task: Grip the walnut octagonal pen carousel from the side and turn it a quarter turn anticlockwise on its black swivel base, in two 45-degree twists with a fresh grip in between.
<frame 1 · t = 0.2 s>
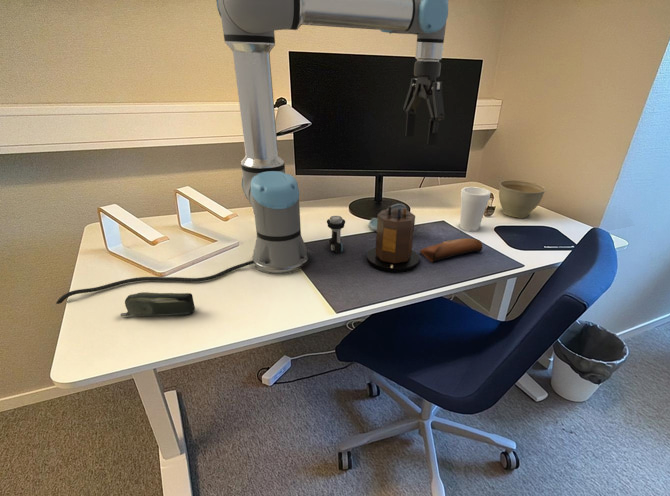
hand: (419, 140, 123), 28 cm above the table, tool pointing down, fingers open, 13 cm apart
pen carousel: (395, 231, 109), point 9 cm above the table, hinge at 0.0°
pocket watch: (383, 228, 134), on the table
foam cup: (469, 228, 138), on the table
sunglasses case: (449, 253, 120), on the table
planter bowl: (515, 214, 152), on the table
dark green rounded block: (159, 314, 87), on the table
swivel base: (392, 260, 114), on the table
push button: (335, 249, 119), on the table
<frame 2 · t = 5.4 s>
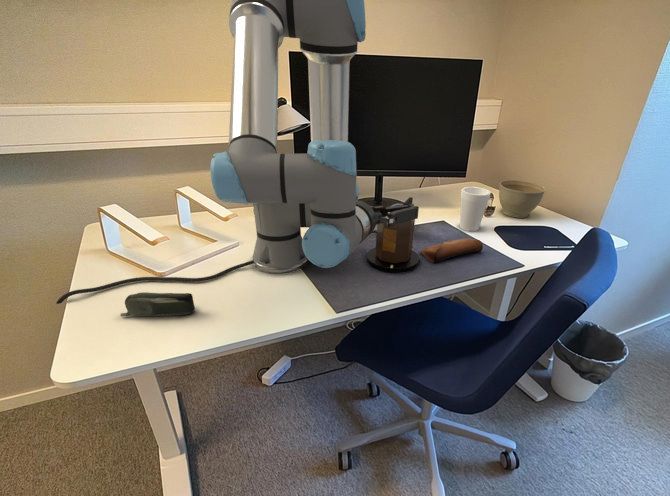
hand: (382, 200, 94), 21 cm above the table, tool horizontal, fingers open, 13 cm apart
nothing on the table moved.
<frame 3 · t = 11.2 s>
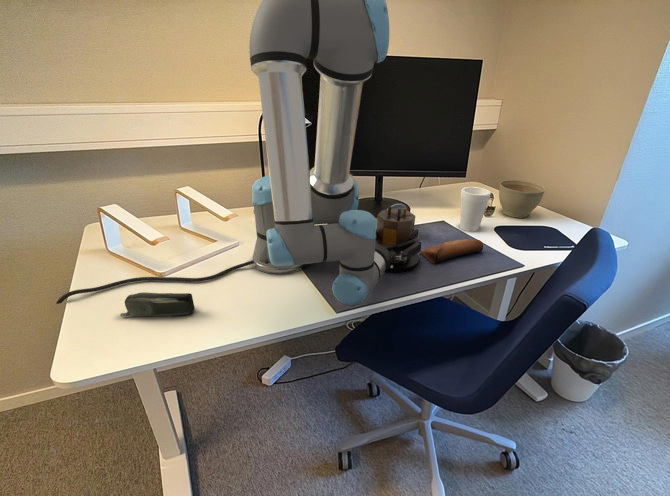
hand: (399, 231, 113), 8 cm above the table, tool horizontal, fingers closed on pen carousel, 9 cm apart
pen carousel: (395, 231, 109), point 9 cm above the table, hinge at 0.0°, touching gripper
everything else where it was.
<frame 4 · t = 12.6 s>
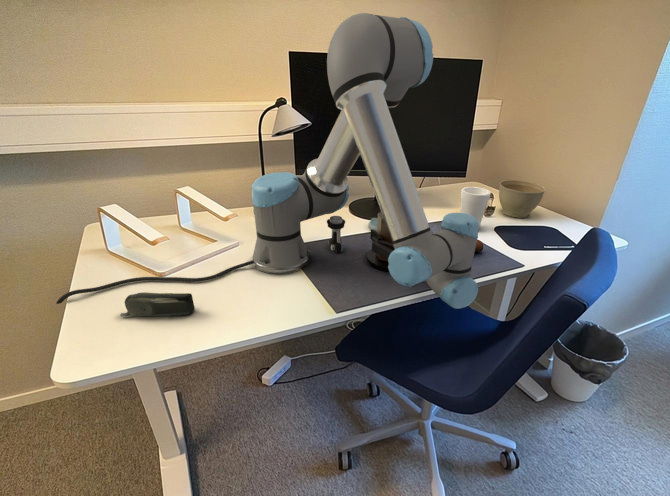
hand: (389, 231, 113), 8 cm above the table, tool horizontal, fingers closed on pen carousel, 10 cm apart
pen carousel: (395, 231, 109), point 9 cm above the table, hinge at 34.3°, touching gripper
everything else where it was.
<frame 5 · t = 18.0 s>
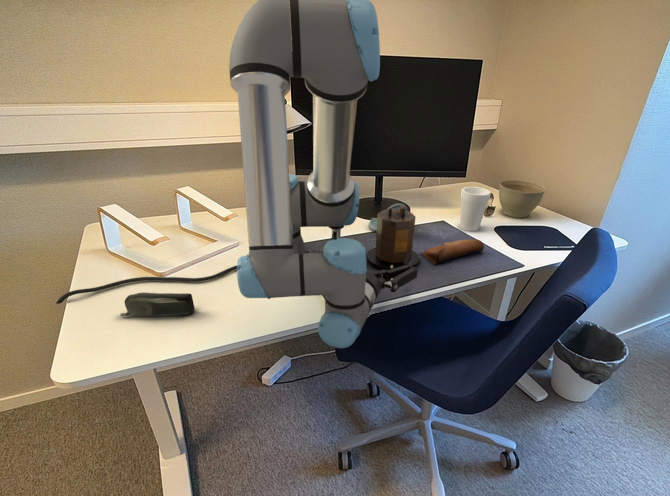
hand: (383, 252, 101), 7 cm above the table, tool horizontal, fingers open, 13 cm apart
pen carousel: (395, 231, 109), point 9 cm above the table, hinge at 38.3°
everything else where it was.
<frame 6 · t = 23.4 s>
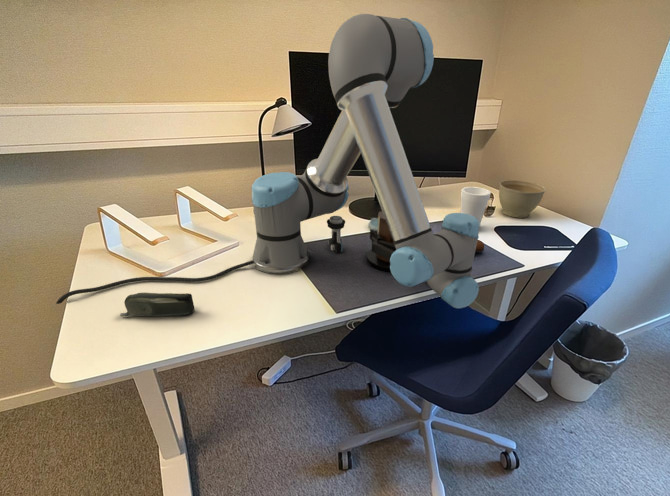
hand: (388, 231, 113), 7 cm above the table, tool horizontal, fingers closed on pen carousel, 10 cm apart
pen carousel: (395, 231, 109), point 9 cm above the table, hinge at 70.4°, touching gripper
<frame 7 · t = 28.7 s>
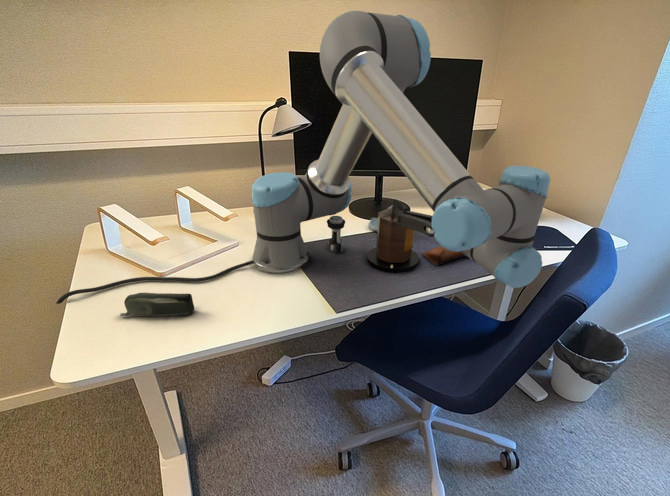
hand: (419, 202, 95), 21 cm above the table, tool horizontal, fingers open, 13 cm apart
pen carousel: (395, 231, 109), point 9 cm above the table, hinge at 70.2°
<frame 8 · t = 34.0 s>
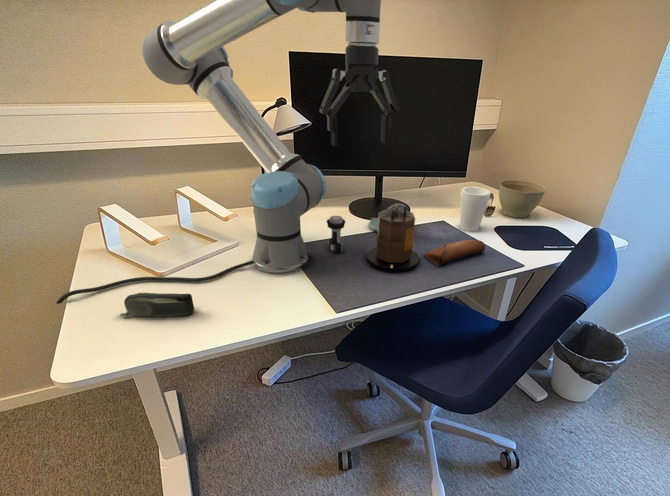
hand: (359, 144, 101), 31 cm above the table, tool pointing down, fingers open, 13 cm apart
at the end: pen carousel at +70° (first picture: +0°); the gripper is holding nothing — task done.
